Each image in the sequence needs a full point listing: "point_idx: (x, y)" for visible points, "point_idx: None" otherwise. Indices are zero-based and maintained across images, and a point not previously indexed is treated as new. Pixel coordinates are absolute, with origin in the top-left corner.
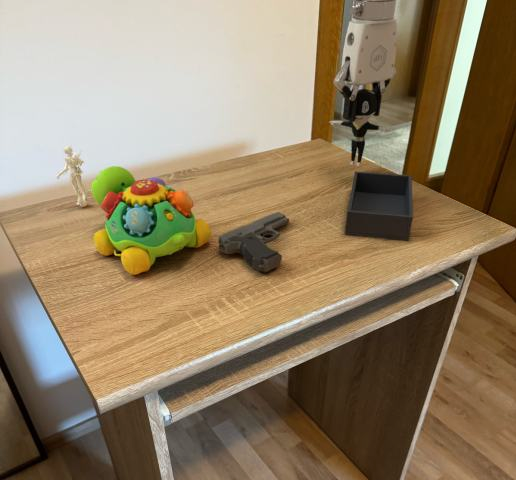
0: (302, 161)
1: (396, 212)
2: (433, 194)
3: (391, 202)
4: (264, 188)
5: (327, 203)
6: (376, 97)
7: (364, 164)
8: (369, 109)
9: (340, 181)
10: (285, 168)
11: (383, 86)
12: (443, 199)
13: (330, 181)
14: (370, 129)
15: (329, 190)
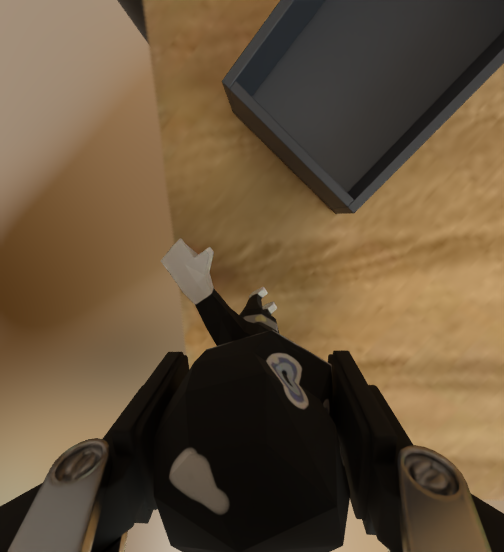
0: None
1: (338, 24)
2: (161, 87)
3: (304, 89)
4: (494, 345)
5: (434, 194)
6: (149, 437)
7: (198, 330)
8: (263, 354)
9: (314, 282)
10: None
11: (50, 502)
12: (157, 43)
13: (335, 295)
14: (236, 314)
15: (374, 254)
